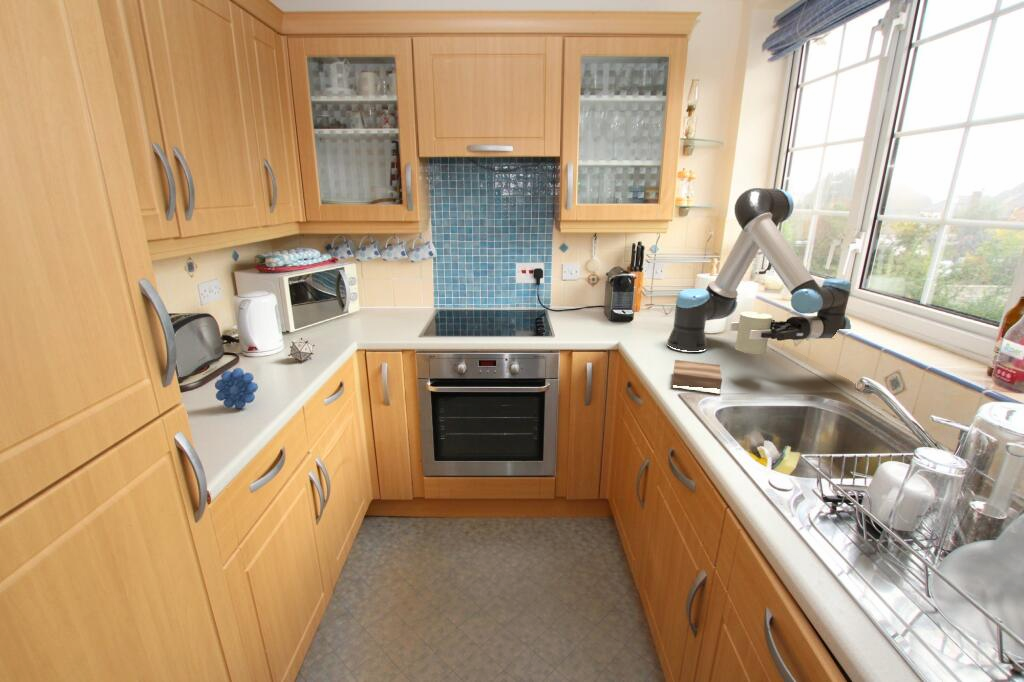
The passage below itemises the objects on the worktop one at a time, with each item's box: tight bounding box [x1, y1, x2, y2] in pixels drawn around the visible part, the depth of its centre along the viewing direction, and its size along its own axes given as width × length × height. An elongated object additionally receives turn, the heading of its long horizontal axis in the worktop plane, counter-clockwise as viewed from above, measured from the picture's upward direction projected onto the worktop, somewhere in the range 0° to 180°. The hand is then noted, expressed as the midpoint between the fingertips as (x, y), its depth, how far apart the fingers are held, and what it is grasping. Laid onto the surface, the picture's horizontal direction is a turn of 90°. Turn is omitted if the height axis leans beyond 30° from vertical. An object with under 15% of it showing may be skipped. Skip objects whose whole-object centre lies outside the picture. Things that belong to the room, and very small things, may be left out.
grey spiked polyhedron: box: [287, 337, 315, 364], centre depth 168 cm, size 9×8×10 cm
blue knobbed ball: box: [214, 367, 259, 410], centre depth 129 cm, size 12×7×12 cm, turn 91°
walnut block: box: [671, 359, 723, 390], centre depth 152 cm, size 14×14×5 cm
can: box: [734, 311, 773, 355], centre depth 149 cm, size 9×9×12 cm
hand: (740, 330), depth 148 cm, fingers closed on can, 9 cm apart
